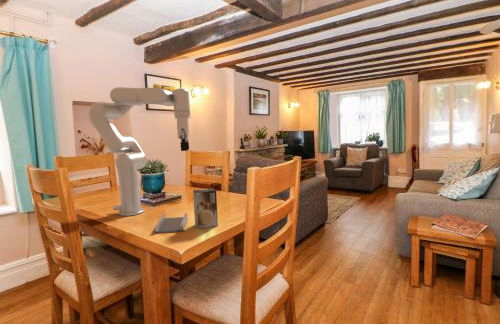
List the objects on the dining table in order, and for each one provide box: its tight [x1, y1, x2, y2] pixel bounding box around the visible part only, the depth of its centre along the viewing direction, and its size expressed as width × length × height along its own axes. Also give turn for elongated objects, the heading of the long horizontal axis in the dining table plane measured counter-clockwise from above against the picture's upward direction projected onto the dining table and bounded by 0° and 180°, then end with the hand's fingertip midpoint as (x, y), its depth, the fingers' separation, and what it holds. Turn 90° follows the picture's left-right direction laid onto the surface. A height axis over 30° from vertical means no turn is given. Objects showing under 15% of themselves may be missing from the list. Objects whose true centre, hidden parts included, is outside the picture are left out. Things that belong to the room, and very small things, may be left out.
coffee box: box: [192, 187, 219, 230], centre depth 122 cm, size 9×6×16 cm
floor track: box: [154, 212, 189, 234], centre depth 124 cm, size 11×18×3 cm, turn 7°
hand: (185, 150), depth 136 cm, fingers open, 9 cm apart
